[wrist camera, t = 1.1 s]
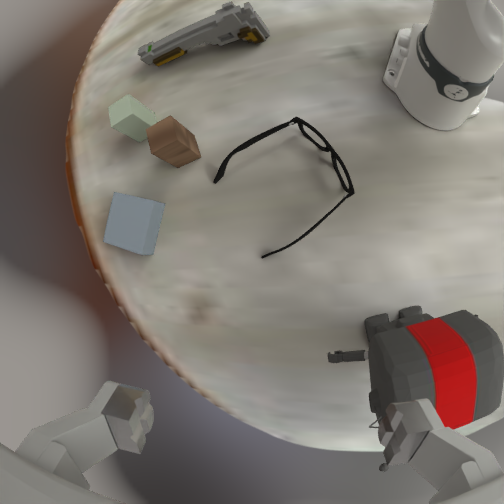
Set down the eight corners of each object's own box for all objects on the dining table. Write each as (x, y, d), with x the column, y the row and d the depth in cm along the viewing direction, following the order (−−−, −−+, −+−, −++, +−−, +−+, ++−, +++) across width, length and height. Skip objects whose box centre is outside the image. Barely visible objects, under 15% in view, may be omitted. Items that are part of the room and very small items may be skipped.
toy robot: (331, 369, 43) (333, 513, 14) (323, 314, 44) (322, 421, 15) (456, 337, 39) (567, 420, 9) (452, 283, 39) (586, 321, 10)
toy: (270, 42, 45) (247, 11, 36) (167, 80, 55) (136, 61, 45) (267, 24, 45) (245, -7, 36) (169, 61, 55) (139, 41, 46)
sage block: (135, 124, 51) (108, 107, 43) (154, 113, 50) (128, 93, 42) (139, 142, 51) (111, 127, 42) (159, 131, 50) (132, 113, 41)
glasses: (361, 201, 44) (367, 194, 39) (266, 263, 46) (261, 264, 41) (301, 119, 46) (299, 105, 41) (211, 178, 48) (201, 170, 43)
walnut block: (172, 146, 49) (145, 129, 41) (194, 135, 48) (170, 115, 40) (178, 168, 49) (151, 153, 40) (201, 157, 48) (177, 139, 39)
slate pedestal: (127, 195, 52) (114, 191, 48) (166, 204, 50) (154, 200, 46) (116, 242, 52) (103, 241, 49) (154, 254, 51) (141, 255, 47)
